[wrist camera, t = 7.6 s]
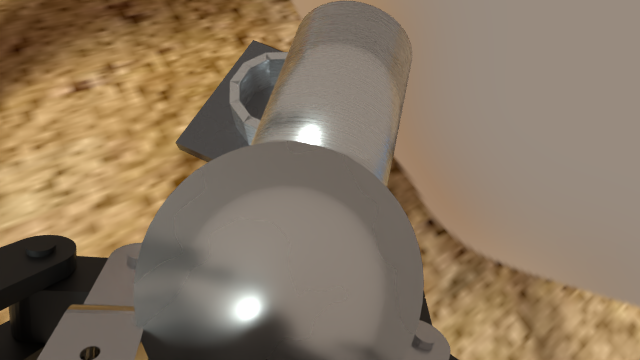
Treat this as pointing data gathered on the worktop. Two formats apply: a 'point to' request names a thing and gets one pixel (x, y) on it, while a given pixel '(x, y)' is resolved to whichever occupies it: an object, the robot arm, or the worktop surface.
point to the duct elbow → (295, 216)
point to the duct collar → (234, 105)
